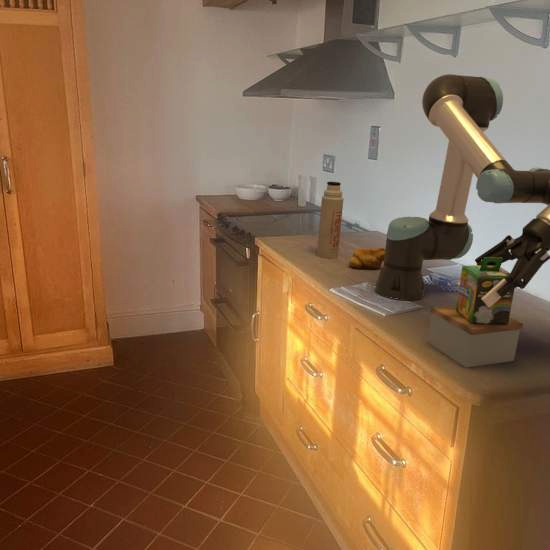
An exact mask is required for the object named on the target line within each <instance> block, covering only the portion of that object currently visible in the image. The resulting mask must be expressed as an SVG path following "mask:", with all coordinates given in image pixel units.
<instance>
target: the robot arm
mask: <svg viewBox="0 0 550 550" xmlns="http://www.w3.org/2000/svg"><path fill="white" fill-rule="evenodd" d="M503 94H504V93H503V90H502V88H501V87H500V84H499V83H498V82H497V81H496V80H495V79H492V78H487V77H483V76H473V75H471V76H470V75H469V76H468V75H459V74H449V73H448V74H442V75H440V76H438V77H436V78H434V79H433V80H431V81H430V83H429V84H428V85H427V86H426V88H425V90H424V92H423V93H422V99H421V102H422V104H421V106H422V110H423V113H424V115H425V117H426V118H427V120H428V121H429V122H430V123H431V124H432V125H433V127H438V128H439V129H440V130H441V132H442V133H443V134H444V135H445V137H446V138H447V139H448V144H447V150H446V154H445V159H444V165H443V170H442V176H441V181H440V186H439V192H438V196H437V200H436V206H435V209H434V210H433V211H432V212H431V213H429V216H428V219H427V218H424V217H420V216H402V217H397V218H394V219H393V220H391V221H390V222H389V224H388V227H387V232H386V242H385V248H384V249H385V257H384V261H383V267H382V269H381V270H380V272H379V274H378V277H377V280H376V281H375V284H374V291H375V292H376V293H377V294H378V295H380V294H381V295H380V296H382V295H383V297H385V296H387V297H386V298H388V297H392V298H398V299H404V300H403V301H417V300H420V299H423V298H424V297H425V289H426V288H425V282H424V278H423V273H422V272H423V271H422V269H423V263H424V261H434V260H435V261H437V260H438V261H439V260H441V261H442V260H448V261H451V260H455V259H461V258H462V257H464V256H466V254H468V253H469V251H470V250H471V247H472V245H473V241H474V233H473V229H472V228H473V227H472V226H471V225H470V224H469V218H468V216H466V209H467V204H468V200H469V195H470V190H471V185H472V179H473V175H474V176H475V177H476V179H477V181H476V183H475V186H476V187H475V189H476V190H477V196H478V197H479V199H480V200H482V201H483V202H485V203H494V204H543V205H546V207H544V208H543V209H542V210H541V211H540V212H539V213H537V215H536V216H535V218H533V219H531V220H530V221H529V222H528V223H527V224H526V225H524V226H523V227H522V233H521V235H520V236H518V237H516V238H513V237H512V236H511V235H510V234H509V235H506V236H505V237H504V238H503V239H502V240H501V241H500V242H498V243H497V244H495V245H494V246H493V247H491V248H490V249H488V250H487V251H485V252H484V253H482V254H481V255H479V256H478V257H476V258H475V259H474V261H475V263H476V265H481V264H482V261H483V258H484V257H501V258H503V261H502V264H503V263H505V262H507V261H514V260H516V262H515V264H514V265H513V267H512V269H511V271H510V275H509V276H508V277H505V278H506V279H507V281H506V280H505V279H503V280H502V281H500V282H499V283H498V284H497V285H496V286H495V287H494V288H493V289H491V290H490V291H489V292H488V293H487V294H486V295H485V296H484V297H482V298H481V299H482V300H483V302H484V303H485V304H486V306H487V307H489V308H490V307H491V306H492V305H493V304H494V303H495V302H497V301H498V300H499V299H500V298H501V297H503V296H505V295H506V294H507V293H508V292H509V291H510V290H512V289H513V288H515V289H516V288H519V289H520V290H523V289H525V288H526V287H527V285H528V284H529V283H530V282H531V280H532V279H533V278H534V276H535V275H536V274H537V272H538V271H539V270H540V269H541V267H542V266H543V265H544V264H545V263H546V262H548V261H549V260H550V254H549V253H548V252H549V251H550V169H548V168H542V167H532V168H531V169H529V170H516V169H514V168H513V166H511V164H510V163H509V162H508V161H507V160H506V158H505V157H504V156H503V155H502V153H501V152H500V151H499V149H498V148H497V147H496V146H495V144H493V143H492V142H493V141H491V140H490V139H489V137H488V136H487V135H486V134H485V132H486V131H487V130H488V129H489V126H490V122H492V121H494V120H495V119H496V118H497V117H498V115H500V113H501V111H502V109H503V104H504V95H503ZM487 265H493V266H495V265H496V263H495V262H492V261H491V262H488V263H487ZM457 286H458V287H459V286H460V281H459V282H458V283H457ZM392 298H391V299H392ZM398 299H397V300H398Z"/></svg>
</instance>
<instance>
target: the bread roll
mask: <svg viewBox="0 0 550 550" xmlns="http://www.w3.org/2000/svg"><path fill="white" fill-rule="evenodd" d="M384 257H385V248H384V247H379V248H378V247H377V248H371V247H369V248H357V249H355V250H354V251H353V253H352V256H351V258H350V259H349V261H348V263H349V265H350V267H352V268H355V269H367V270H376V269H379V268H381V267H382V264H383V263H384Z"/></svg>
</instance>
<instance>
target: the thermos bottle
mask: <svg viewBox="0 0 550 550" xmlns="http://www.w3.org/2000/svg"><path fill="white" fill-rule="evenodd" d="M326 184H327V185H326V189H325V190H324V191H323V196H322V197H321V205H320V213H319V214H320V217H319V227H318V237H317V238H318V240H317V249H316V250H317V251H316V256H317V257H320V258H321V259H329V260H330V259H337V258H338V256H339V248H340V236H341V228H342V227H341V226H342V220H343V219H342V218H343V208H344V207H343V206H344V197H343V192H342V190H341V185H342V183H341V182H340V181H327V183H326Z"/></svg>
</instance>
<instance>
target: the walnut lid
mask: <svg viewBox="0 0 550 550" xmlns="http://www.w3.org/2000/svg"><path fill="white" fill-rule="evenodd" d="M430 308H431V309H430V311H431V314H432V313H434V314H436V315H437V316H439V317H441V318H443V319H445V320H447V321H448V322H450V323H452V324H454V325H456V326H458V327H459V328H461V329H463V330H465V331H467V332H469V333H470V334H481V333H490V332H498V331H507V330H516V329H520V330H522V329H523V328H524V323H523V322H520V321H518V320H517V319H515V318H512V317H511V316H509V322H508V325H505V324H471V323H470V322H469V321H468V320H467V319H466V318H464V317H463V316H462V315H461V314H460V313H459V312H457V311H456V308H457V304H456V305H446V306H445V305H444V306H434V307H430Z"/></svg>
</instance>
